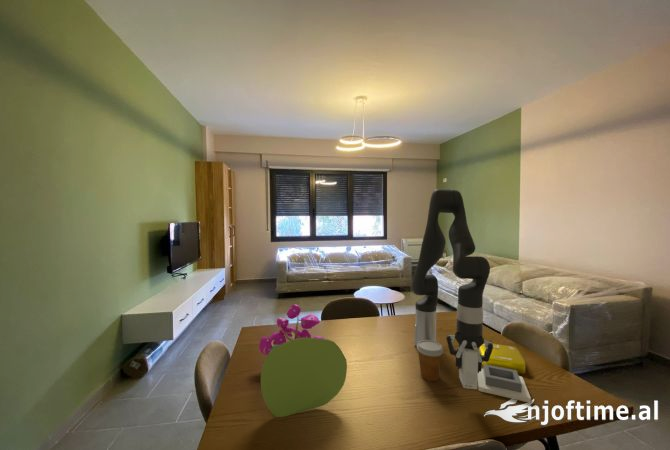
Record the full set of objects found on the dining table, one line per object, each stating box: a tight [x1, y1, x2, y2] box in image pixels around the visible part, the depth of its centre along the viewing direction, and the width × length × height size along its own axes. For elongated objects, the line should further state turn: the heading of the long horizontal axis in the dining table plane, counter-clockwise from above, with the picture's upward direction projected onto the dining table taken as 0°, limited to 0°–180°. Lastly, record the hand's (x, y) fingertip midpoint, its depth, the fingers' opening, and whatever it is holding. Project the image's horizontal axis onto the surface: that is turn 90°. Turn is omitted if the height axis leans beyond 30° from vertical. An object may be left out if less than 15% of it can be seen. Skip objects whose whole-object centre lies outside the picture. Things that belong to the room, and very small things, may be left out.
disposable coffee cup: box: [416, 340, 444, 381], centre depth 103 cm, size 10×10×12 cm
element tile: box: [479, 343, 526, 374], centre depth 114 cm, size 15×15×5 cm
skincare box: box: [458, 348, 478, 390], centre depth 88 cm, size 6×4×12 cm
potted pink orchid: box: [258, 303, 348, 418], centre depth 103 cm, size 30×28×35 cm
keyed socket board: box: [477, 364, 532, 404], centre depth 97 cm, size 15×13×4 cm
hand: (468, 369), depth 88 cm, fingers closed on skincare box, 4 cm apart
